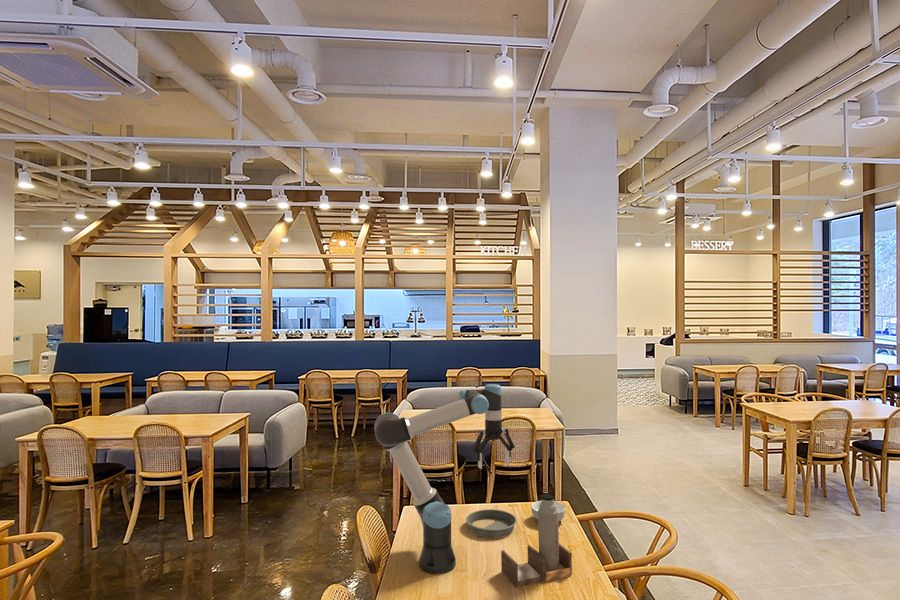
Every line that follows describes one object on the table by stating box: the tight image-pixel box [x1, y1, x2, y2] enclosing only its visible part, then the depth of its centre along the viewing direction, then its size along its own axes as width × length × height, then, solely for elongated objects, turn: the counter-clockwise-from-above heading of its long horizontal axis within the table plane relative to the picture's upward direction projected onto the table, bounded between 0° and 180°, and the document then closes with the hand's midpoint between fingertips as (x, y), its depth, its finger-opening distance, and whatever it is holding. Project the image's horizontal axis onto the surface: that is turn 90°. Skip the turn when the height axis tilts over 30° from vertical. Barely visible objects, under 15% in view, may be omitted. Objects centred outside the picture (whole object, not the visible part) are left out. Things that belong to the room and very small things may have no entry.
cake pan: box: [465, 508, 518, 539], centre depth 240 cm, size 25×25×4 cm
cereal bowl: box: [530, 500, 566, 522], centre depth 247 cm, size 17×17×7 cm
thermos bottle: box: [537, 493, 560, 571], centre depth 200 cm, size 8×8×28 cm
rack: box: [500, 543, 573, 588], centre depth 197 cm, size 25×13×8 cm, turn 111°
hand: (493, 466), depth 223 cm, fingers open, 13 cm apart
